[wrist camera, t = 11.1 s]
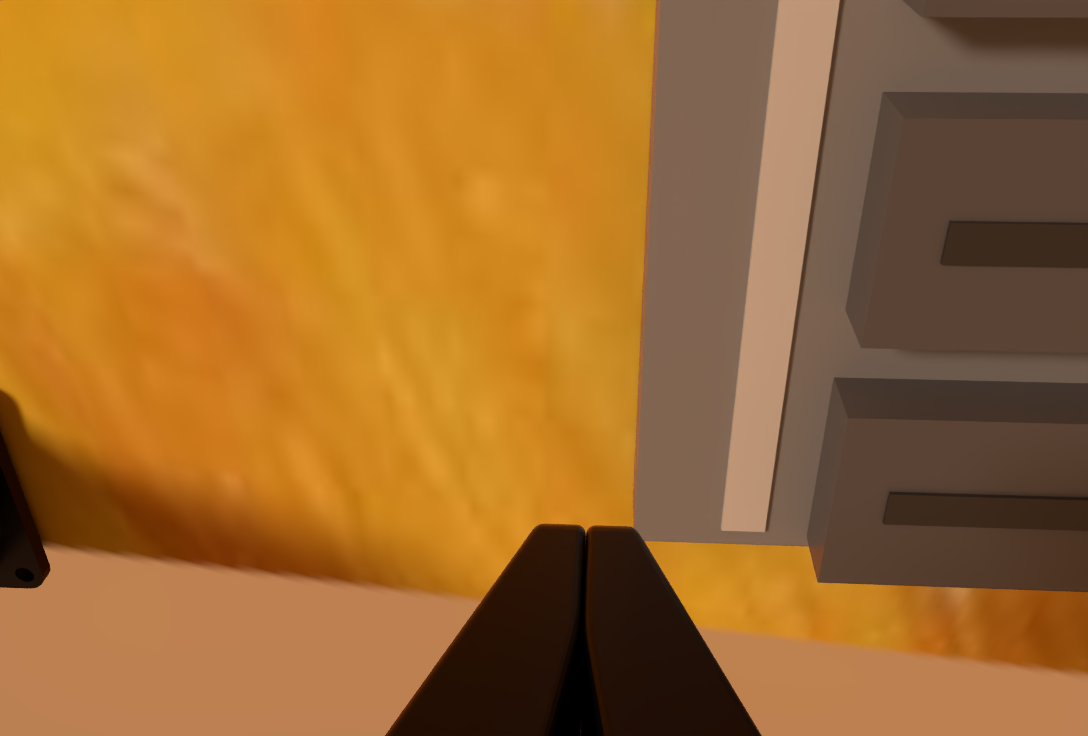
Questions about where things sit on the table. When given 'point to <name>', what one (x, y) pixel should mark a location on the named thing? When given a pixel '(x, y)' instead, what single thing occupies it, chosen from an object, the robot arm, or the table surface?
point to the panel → (716, 227)
